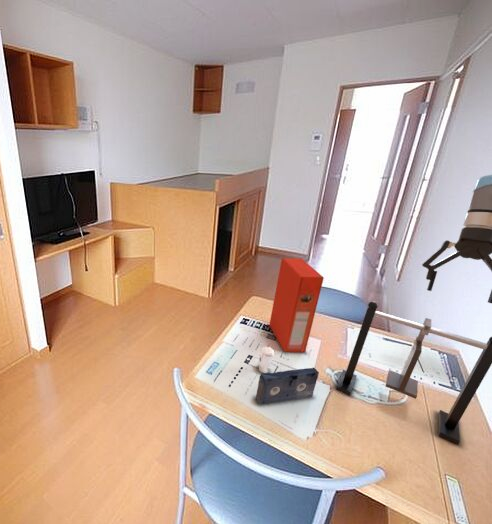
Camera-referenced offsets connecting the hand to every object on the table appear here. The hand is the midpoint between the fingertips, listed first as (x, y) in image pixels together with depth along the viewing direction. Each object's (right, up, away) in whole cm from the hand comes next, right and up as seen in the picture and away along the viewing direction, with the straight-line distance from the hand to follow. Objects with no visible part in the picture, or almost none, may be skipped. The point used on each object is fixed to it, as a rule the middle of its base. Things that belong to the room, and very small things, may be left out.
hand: (458, 296), depth 94 cm
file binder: (-39, -21, +31) cm, 54 cm away
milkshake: (-55, -28, +14) cm, 63 cm away
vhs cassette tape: (-53, -32, +2) cm, 62 cm away
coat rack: (-20, -33, 0) cm, 39 cm away
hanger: (-20, -26, -3) cm, 33 cm away
